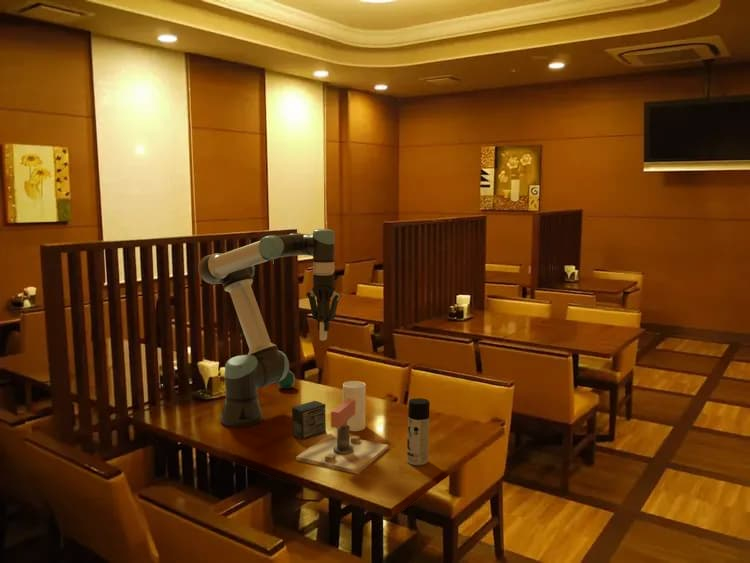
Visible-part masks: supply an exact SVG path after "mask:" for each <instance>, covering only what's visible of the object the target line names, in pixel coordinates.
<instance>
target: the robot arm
mask: <svg viewBox="0 0 750 563" xmlns="http://www.w3.org/2000/svg"><path fill="white" fill-rule="evenodd" d="M335 240H336V239H335V231H334V230H332V229H329V228H328V229H327V228H326V229H324V228H323V229H320V228H319V229H318V228H317V229H314V230H313V231H312V234H309V233H308V234H307V233H300V232H298V233H297V232H295V233H294V232H293V233H289V234H281V235H280V234H279V235H278V234H277V235H274V234H272V235H267V236H264V237H262V238H261V239H260V240H259V241H255V242H253V243H250V244H247V245H244V246H241V247H238V248H235V249H232V250H230V251H227V252H224V253H218V252H216V253H213V254H209V255H205V256H204V257H203V258H202V259H201V260H200V261H199V263H198V268H197V270H198V271H197V272H198V274H199V276H200V278H201V279H202V281H204V282H205V283H206V284H207V283H208V284H211V285H221V284H222V287H223V289H224V291H225V292H228V293H229V295H230V297H231V300H232V303H233V307H234V309H235V312H236V314H237V315H236V316H237V317H238V321H239V323H240V326H241V329H242V333H243V335H244V338H245V340H246V344H247V346H248V349H249V351H248V353H247V354H242V355H236V356H233V357H231V358H229V359H228V360H227V361H226V362H225V364H224V366H225V367H224V387H225V389H224V390H225V391H224V392H225V401H224V404H223V408H222V411H221V415H220V422H221V424H223V425H225V426H226V427H227V426H228V427H232V428H233V427H234V428H245V427H250V426H254V425H258V424H260V423H261V422H262V421H263V418H264V416H263V414H264V413H263V411H262V409H261V405H260V402H259V400H258V399H259V398H258V397H259V396H258V395H259V394H258V392H259V391H258V389H261V388H262V387H263V388H264V387H266V386H270V385H274V384H277V382H279V381H281V380H283V379H284V378H285V377H286V376H287V372H288V370H289V371H290V362H289V359H288V357H287V355H286V354H285V353H284V352H283V351H281V350H279V349H278V346H277V345H276V344H274V343H273V342H271V339H270V335H269V333H268V330H267V327H266V324H265V321H264V319H263V316H262V313H261V311H260V308H259V305H258V301H257V300H256V296H255V294H254V293H255V292H254V291H253V288H252V284H253V282H254V280H253V279H254V278H253V277H254V275H255V269H256V267H255V266H256V265H259V264H262V263H265V262H268V261H272V260H276V259H279V258H284V257H296V256H311V257H312V273H313V275H312V284H313V287H312V288H311V290H310V291H308V292H306V297H307V299H308V301H309V306H310V312H311V316H312V320H315V321H317V331H319V341H326V340H327V339H328V331H329V330H330V322H332V321H334V320H335V317H336V314H337V309H338V308H337V307H338V304H339V300H341V297H342V295H341V294H340V293H339V294H338V293H337V292H336V289H335V274H334V273H335V249H336V246H335V245H336V241H335ZM331 298H332V300H331Z"/></svg>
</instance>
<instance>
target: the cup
mask: <svg viewBox="0 0 750 563" xmlns="http://www.w3.org/2000/svg"><path fill="white" fill-rule="evenodd" d="M366 389H367V387H366V383H365V382H363V381H359V380H358V381H357V380H350V381H345V382H343V383H342V403H343V402H344V401H345V400H347V399H348V398H350V399H355V414H354V415H353V416H352V417H351V418H350V419H349V420H348V421H347V425H348V426H350V432H359V431H363V430H365V429H366V399H367V398H366V397H367V396H366Z"/></svg>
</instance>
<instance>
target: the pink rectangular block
mask: <svg viewBox="0 0 750 563" xmlns="http://www.w3.org/2000/svg"><path fill="white" fill-rule="evenodd" d="M354 414H355V399H350V398H348V399H347V400H345V401H344V402H343V401H342V402H341V403H340V404H339V405H338V406H336V407H335V408H334V409H332V410H331V412H330V427H331V428H336V429H337V428H340V427H343V428H344V427H347V421H348V420H349V419H350V418H351V417H352V416H353V415H354Z"/></svg>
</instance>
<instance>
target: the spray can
mask: <svg viewBox="0 0 750 563" xmlns="http://www.w3.org/2000/svg"><path fill="white" fill-rule="evenodd" d="M430 405H431V404H430V400H429V399H426V398H421V397H420V398H417V397H416V398H411V399H409V400H408V413H407V414H408V415H407V442H406V443H407V445H406V461H407V463H408V464H409V465H412V466H415V467H421V466H422V467H423V466H424V465H426V464H428V462H429V460H428V458H429V440H430V439H429V433H430Z"/></svg>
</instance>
